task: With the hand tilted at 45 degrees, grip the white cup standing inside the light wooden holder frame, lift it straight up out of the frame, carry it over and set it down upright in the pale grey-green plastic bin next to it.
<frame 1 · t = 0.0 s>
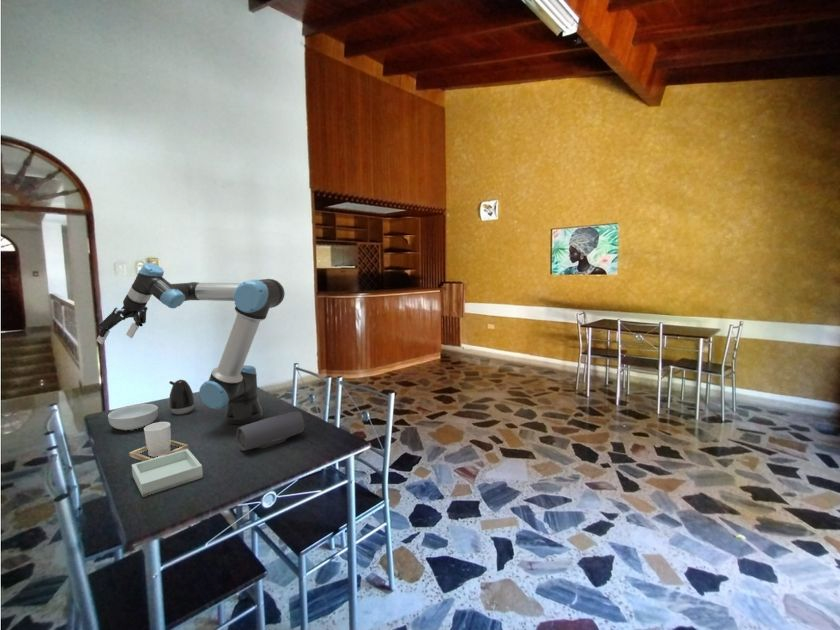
hand: (114, 339, 169), 36 cm above the table, tool tilted 35°, fingers open, 13 cm apart
bin: (167, 477, 130), on the table
holder frame: (159, 452, 146), on the table
pump dispenser: (182, 412, 185), on the table
bluetooth speaker: (272, 443, 154), on the table
white cup: (159, 453, 146), resting in holder frame
cereal bowl: (135, 427, 169), on the table
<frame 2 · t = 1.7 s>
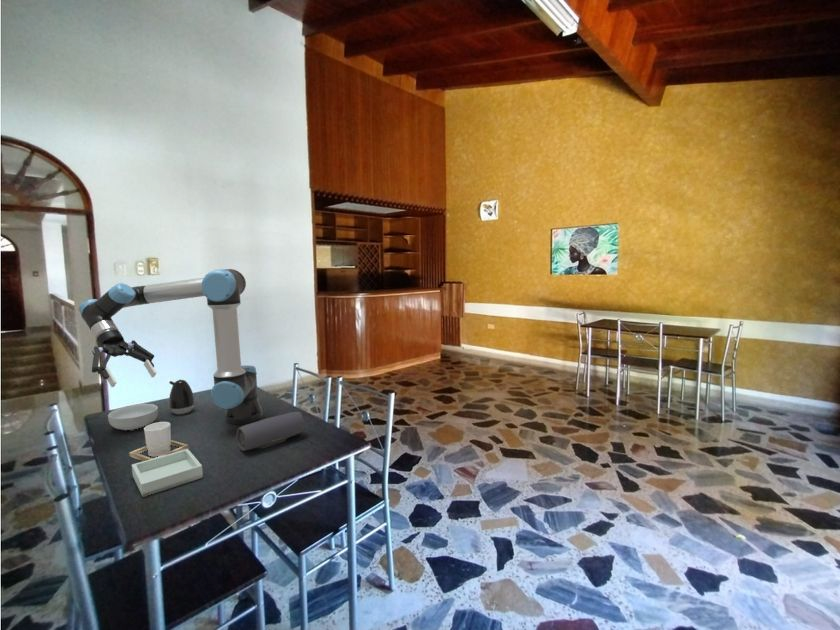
hand: (135, 379, 148), 25 cm above the table, tool tilted 45°, fingers open, 13 cm apart
nothing on the table moved.
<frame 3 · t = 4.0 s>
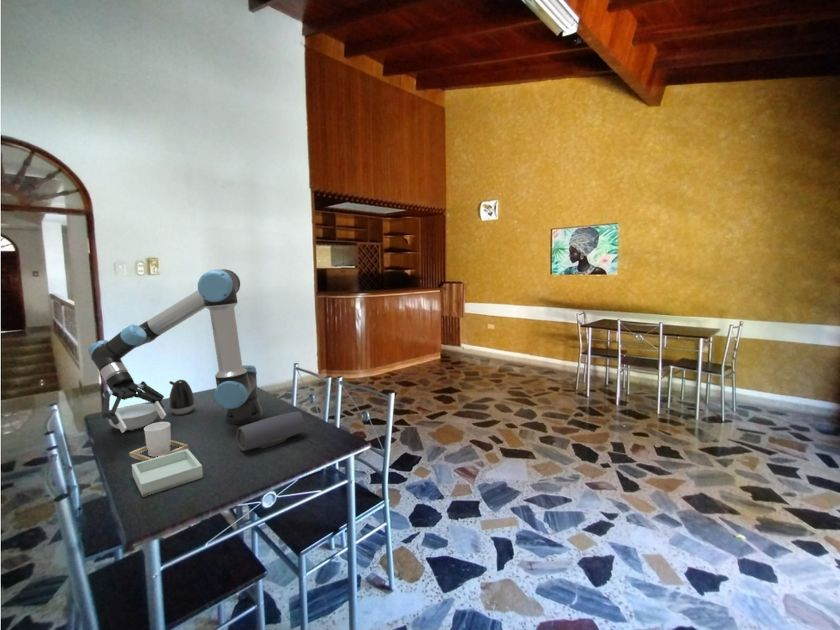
hand: (145, 423, 147), 10 cm above the table, tool tilted 45°, fingers open, 13 cm apart
nothing on the table moved.
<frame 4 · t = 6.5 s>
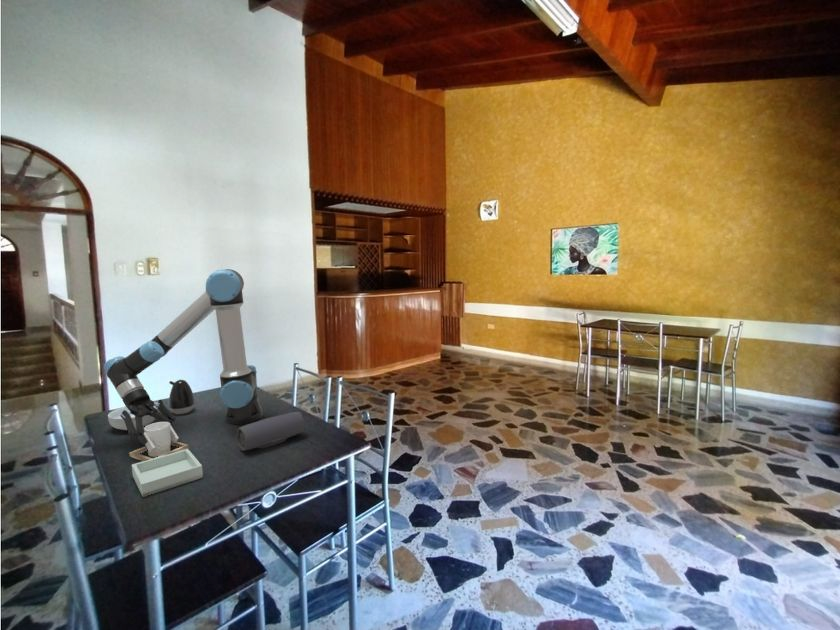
hand: (164, 444, 144), 4 cm above the table, tool tilted 45°, fingers closed on white cup, 8 cm apart
white cup: (159, 453, 146), resting in holder frame, touching gripper
everything else where it was.
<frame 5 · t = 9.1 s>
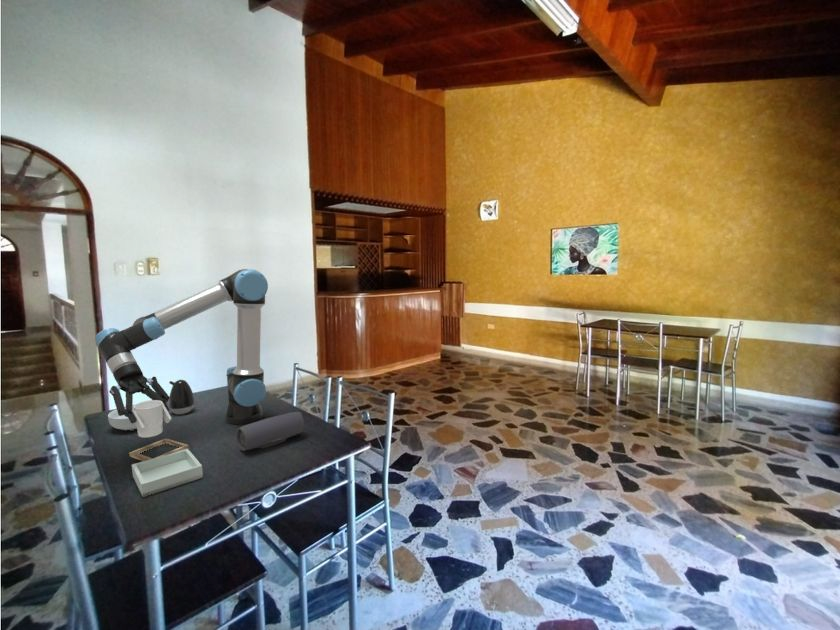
hand: (155, 425, 133), 15 cm above the table, tool tilted 45°, fingers closed on white cup, 8 cm apart
white cup: (150, 433, 135), point 11 cm above the table, touching gripper
everything else where it was.
when the fingers open (6 cm above the table, at t = 12.0 s): white cup drops 1 cm, resting on bin.
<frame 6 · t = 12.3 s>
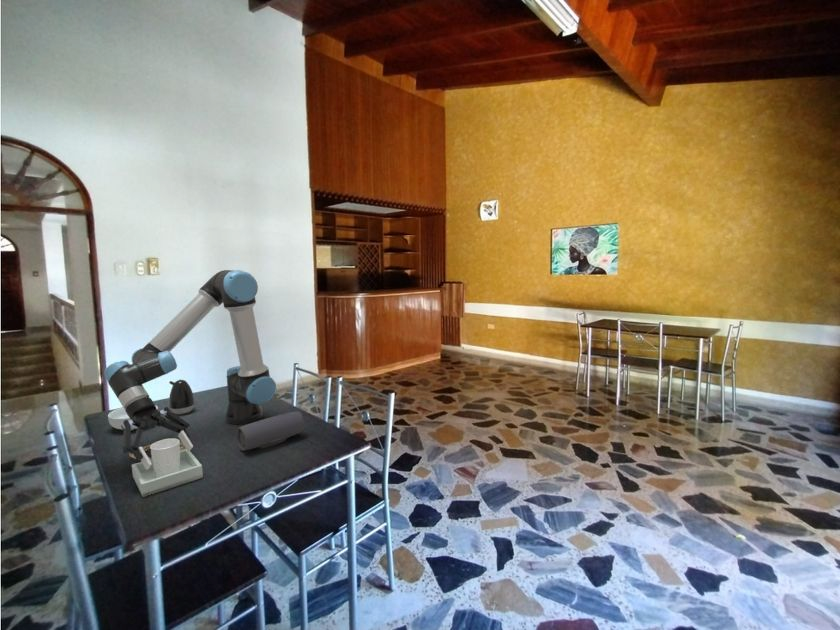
hand: (170, 457, 128), 7 cm above the table, tool tilted 45°, fingers open, 12 cm apart
white cup: (167, 474, 130), point 1 cm above the table, touching bin
everything else where it was.
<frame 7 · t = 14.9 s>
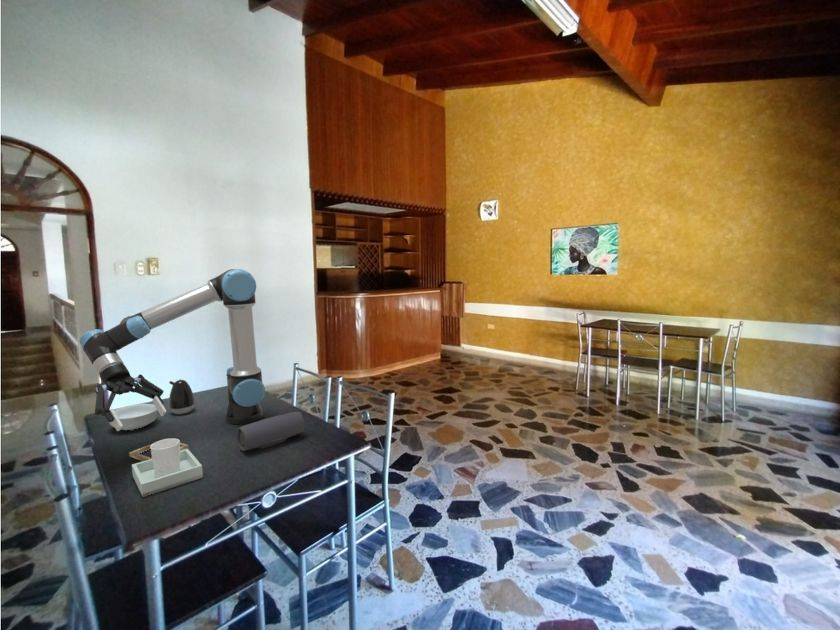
hand: (143, 420, 132), 17 cm above the table, tool tilted 45°, fingers open, 13 cm apart
nothing on the table moved.
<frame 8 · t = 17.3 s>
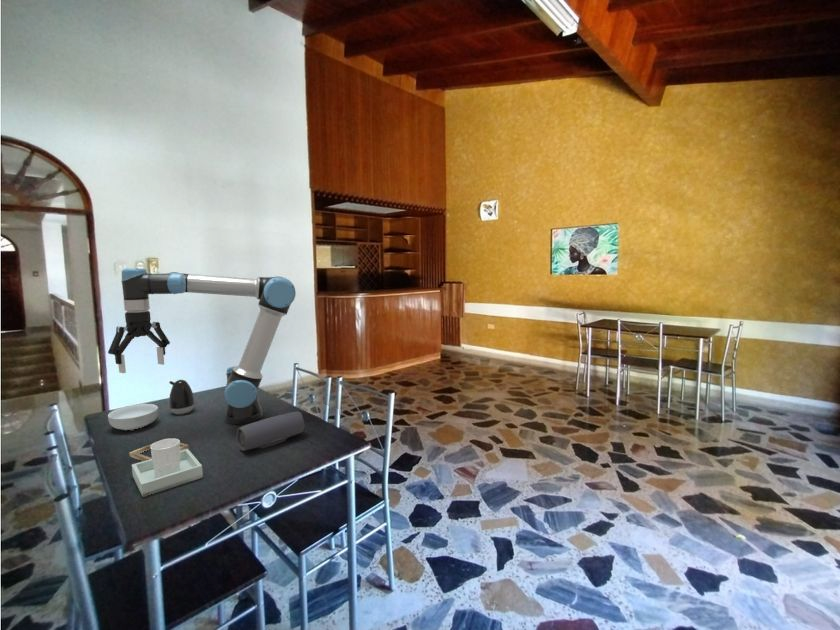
hand: (142, 368, 151), 29 cm above the table, tool pointing down, fingers open, 13 cm apart
nothing on the table moved.
at the end: white cup inside the target area on the bin (0.2 cm from its centre), point 0.8 cm above the bin's base; white cup tilted 0°; the gripper is holding nothing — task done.
